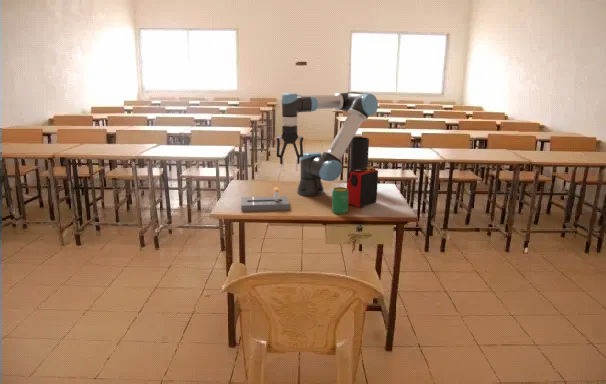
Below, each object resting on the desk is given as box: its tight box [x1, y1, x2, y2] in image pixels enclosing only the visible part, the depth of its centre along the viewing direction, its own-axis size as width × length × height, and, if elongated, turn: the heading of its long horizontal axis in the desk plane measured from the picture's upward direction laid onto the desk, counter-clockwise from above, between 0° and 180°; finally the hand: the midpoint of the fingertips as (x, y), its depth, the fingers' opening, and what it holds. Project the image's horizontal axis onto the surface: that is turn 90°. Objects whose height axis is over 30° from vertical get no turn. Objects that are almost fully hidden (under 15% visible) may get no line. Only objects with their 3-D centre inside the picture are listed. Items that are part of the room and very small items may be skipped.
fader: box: [273, 186, 280, 201], centre depth 237 cm, size 2×5×9 cm, turn 7°
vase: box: [349, 136, 370, 172], centre depth 266 cm, size 10×10×30 cm
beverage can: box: [331, 186, 349, 215], centre depth 228 cm, size 8×8×12 cm
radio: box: [346, 166, 379, 209], centre depth 241 cm, size 16×10×20 cm, turn 134°
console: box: [240, 195, 290, 212], centre depth 237 cm, size 24×14×3 cm, turn 97°
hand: (289, 170), depth 234 cm, fingers open, 6 cm apart
